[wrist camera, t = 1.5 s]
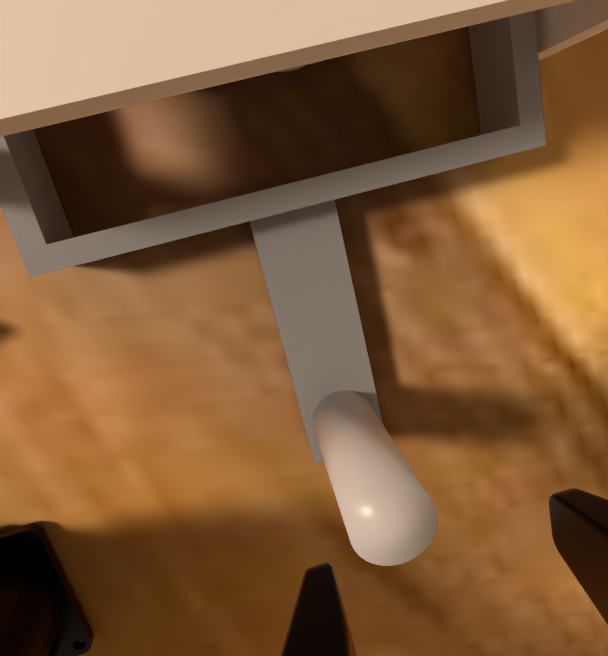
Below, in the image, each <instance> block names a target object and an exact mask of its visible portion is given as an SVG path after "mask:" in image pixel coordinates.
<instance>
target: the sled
mask: <svg viewBox="0 0 608 656" xmlns="http://www.w3.org/2000/svg"><path fill="white" fill-rule="evenodd" d="M468 29H469V37H470V45H471V53H472V62H473V70H474V78H475V86H476V94H477V102H478V110H479V118H480V126H481V134H482V135H479V136H475V137H471V138H467V139H463V140H459V141H455V142H451V143H447V144H443V145H439V146H435V147H431V148H427V149H423V150H420V151H416V152H412V153H408V154H404V155H400V156H396V157H392V158H388V159H384V160H380V161H376V162H372V163H368V164H364V165H360V166H356V167H352V168H348V169H344V170H340V171H336V172H332V173H328V174H324V175H320V176H316V177H312V178H308V179H304V180H300V181H296V182H292V183H289V184H285V185H281V186H277V187H273V188H269V189H265V190H261V191H257V192H253V193H249V194H245V195H241V196H237V197H233V198H229V199H225V200H221V201H217V202H213V203H209V204H205V205H201V206H197V207H193V208H189V209H185V210H181V211H177V212H173V213H169V214H165V215H161V216H158V217H154V218H150V219H146V220H142V221H138V222H134V223H130V224H126V225H122V226H118V227H114V228H110V229H106V230H102V231H98V232H94V233H90V234H86V235H82V236H78V237H73V234H72V231H71V229H70V226H69V223H68V221H67V218H66V215H65V213H64V210H63V207H62V205H61V202H60V199H59V197H58V194H57V191H56V189H55V186H54V183H53V181H52V178H51V175H50V173H49V170H48V167H47V165H46V162H45V159H44V157H43V154H42V152H41V149H40V146H39V144H38V141H37V138H36V136H35V133H34V130H33V129H32V130H27V131H23V132H19V133H15V134H10V135H6V136H2V137H0V206H1V208H2V210H3V213H4V215H5V218H6V220H7V223H8V225H9V227H10V230H11V232H12V235H13V237H14V240H15V242H16V244H17V247H18V249H19V252H20V254H21V257H22V259H23V261H24V264H25V266H26V269H27V271H28V273H29V276H30V277H33V276H37V275H41V274H45V273H49V272H53V271H57V270H61V269H65V268H69V267H72V266H76V265H80V264H84V263H88V262H92V261H96V260H100V259H104V258H108V257H112V256H115V255H119V254H123V253H127V252H131V251H135V250H139V249H143V248H147V247H151V246H155V245H159V244H162V243H166V242H170V241H174V240H178V239H182V238H186V237H190V236H194V235H198V234H202V233H205V232H209V231H213V230H217V229H221V228H225V227H229V226H233V225H237V224H241V223H245V222H250V226H251V229H252V233H253V237H254V240H255V244H256V248H257V252H258V255H259V259H260V263H261V267H262V270H263V274H264V278H265V281H266V285H267V289H268V293H269V296H270V300H271V304H272V307H273V311H274V315H275V319H276V322H277V326H278V330H279V334H280V337H281V341H282V345H283V348H284V352H285V356H286V360H287V363H288V367H289V371H290V374H291V378H292V382H293V386H294V389H295V393H296V397H297V400H298V404H299V408H300V412H301V415H302V419H303V423H304V427H305V430H306V434H307V438H308V441H309V445H310V449H311V452H312V456H313V459H314V463H316V462H319V461H323V460H324V463H325V466H326V469H327V472H328V475H329V478H330V481H331V484H332V487H333V490H334V493H335V496H336V499H337V502H338V505H339V508H340V511H341V515H342V518H343V521H344V524H345V527H346V530H347V533H348V536H349V539H350V542H351V545H352V547H353V549H354V550H355V552H356V553H357V554H358V555H359V556H360V557H361V558H363V559H364V560H366V561H368V562H370V563H372V564H376V565H381V566H393V565H399V564H402V563H405V562H408V561H410V560H412V559H414V558H415V557H417V556H418V555H420V554H421V553H422V552H423V551H424V550H425V549H426V548H427V547H428V546H429V545H430V543H431V542H432V540H433V538H434V536H435V534H436V531H437V526H438V514H437V510H436V508H435V505H434V504H433V502H432V501H431V499H430V497H429V496H428V494H427V493H426V491H425V490H424V488H423V486H422V485H421V483H420V482H419V480H418V479H417V477H416V476H415V474H414V472H413V471H412V469H411V468H410V466H409V465H408V463H407V462H406V460H405V458H404V457H403V455H402V454H401V452H400V451H399V449H398V447H397V446H396V444H395V443H394V441H393V440H392V438H391V437H390V435H389V433H388V432H387V430H386V429H385V427H384V426H383V422H382V417H381V413H380V408H379V404H378V399H377V394H376V390H375V385H374V380H373V376H372V371H371V366H370V362H369V357H368V352H367V348H366V343H365V339H364V334H363V329H362V325H361V320H360V315H359V311H358V306H357V301H356V297H355V292H354V288H353V283H352V278H351V274H350V269H349V264H348V260H347V255H346V250H345V246H344V241H343V236H342V232H341V227H340V223H339V218H338V213H337V209H336V204H335V199H338V198H342V197H346V196H350V195H354V194H358V193H362V192H366V191H370V190H374V189H378V188H382V187H385V186H389V185H393V184H397V183H401V182H405V181H409V180H413V179H417V178H421V177H425V176H428V175H432V174H436V173H440V172H444V171H448V170H452V169H456V168H460V167H464V166H468V165H472V164H475V163H479V162H483V161H487V160H491V159H495V158H499V157H503V156H507V155H511V154H515V153H518V152H522V151H526V150H530V149H534V148H538V147H542V146H546V138H545V127H544V115H543V104H542V93H541V82H540V70H539V59H538V48H537V37H536V25H535V14H534V11H530V12H526V13H522V14H518V15H513V16H509V17H505V18H501V19H496V20H492V21H488V22H484V23H480V24H475V25H471V26H468Z"/></svg>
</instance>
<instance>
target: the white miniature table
mask: <svg viewBox="0 0 608 656" xmlns="http://www.w3.org/2000/svg"><path fill="white" fill-rule="evenodd" d="M534 10H536V11H535V12H534V14H535V25H536V37H537V48H538V59H539V60H542V59H544V58H546V57H548V56H550V55H552V54H555V53H557V52H559V51H561V50H563V49H566V48H568V47H570V46H572V45H574V44H576V43H579V42H581V41H583V40H585V39H587V38H589V37H592V36H594V35H596V34H598V33H600V32H603V31H605V30H607V29H608V0H0V137H2V136H6V135H10V134H15V133H19V132H23V131H27V130H32V129H36V128H40V127H44V126H49V125H53V124H57V123H61V122H65V121H70V120H74V119H78V118H82V117H87V116H91V115H95V114H99V113H103V112H108V111H112V110H116V109H120V108H125V107H129V106H133V105H137V104H141V103H146V102H150V101H154V100H158V99H163V98H167V97H171V96H175V95H180V94H184V93H188V92H192V91H196V90H201V89H205V88H209V87H213V86H218V85H222V84H226V83H230V82H234V81H239V80H243V79H247V78H251V77H256V76H260V75H264V74H268V73H272V72H277V71H281V70H285V69H289V68H294V67H298V66H302V65H306V64H311V63H315V62H319V61H323V60H327V59H332V58H336V57H340V56H344V55H349V54H353V53H357V52H361V51H365V50H370V49H374V48H378V47H382V46H387V45H391V44H395V43H399V42H403V41H408V40H412V39H416V38H420V37H425V36H429V35H433V34H437V33H442V32H446V31H450V30H454V29H458V28H463V27H467V26H471V25H475V24H480V23H484V22H488V21H492V20H496V19H501V18H505V17H509V16H513V15H518V14H522V13H526V12H530V11H534Z"/></svg>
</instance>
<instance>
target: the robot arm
mask: <svg viewBox="0 0 608 656" xmlns="http://www.w3.org/2000/svg"><path fill="white" fill-rule="evenodd" d="M549 509H550V518H551V527H552V536H553V540H554V543H555V545H556V548H557V550H558V551H559V553H560V555H561V556H562V558H563V559H564V561H565V562H566V564H567V565H568V566H569V568H570V569H571V571H572V572H573V574H574V575H575V577H576V578H577V580H578V581H579V583H580V584H581V586H582V587H583V589H584V590H585V592H586V593H587V595H588V596H589V598H590V599H591V601H592V602H593V604H594V605H595V607H596V608H597V610H598V611H599V613H600V614H601V616H602V617H603V618H604V620H605V621H606V623H607V624H608V500H607V499H605V498H602V497H599V496H596V495H594V494H591V493H588V492H585V491H582V490H579V489H575V488H573V489H568V490H565V491H562V492H558V493H555V494H553V495H551V497H550V499H549ZM26 536H30V537H32V538H33V539H34V540H28V539H27V538H26ZM93 638H94V635H93V632H92V630H91V628H90V626H89V624H88V622H87V620H86V618H85V615H84V613H83V611H82V609H81V607H80V605H79V603H78V601H77V599H76V597H75V595H74V592H73V590H72V588H71V586H70V584H69V582H68V580H67V578H66V576H65V574H64V572H63V569H62V567H61V565H60V563H59V561H58V559H57V557H56V555H55V553H54V551H53V549H52V546H51V544H50V542H49V540H48V538H47V536H46V534H45V532H44V530H43V529H42V528H41V527H39V526H37V525H33V524H31V525H25V526H22V527H18V528H15V529H11V530H8V531H4V532H1V533H0V656H77V655H81V654H84V653H86V652H87V651H88V650H89V649H90V647H91V644H92V641H93ZM78 640H81V641H83V642H80V641H78ZM281 656H357V655H356V651H355V647H354V643H353V639H352V636H351V632H350V628H349V624H348V620H347V616H346V613H345V609H344V605H343V602H342V598H341V594H340V591H339V587H338V583H337V580H336V576H335V572H334V569H333V566H332V564H331V563H324V564H320V565H317V566H314V567H311V568H308V569H307V570H306V571H305V574H304V577H303V581H302V584H301V587H300V591H299V594H298V598H297V601H296V605H295V608H294V612H293V615H292V619H291V622H290V626H289V629H288V633H287V636H286V640H285V643H284V647H283V650H282V654H281Z"/></svg>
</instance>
